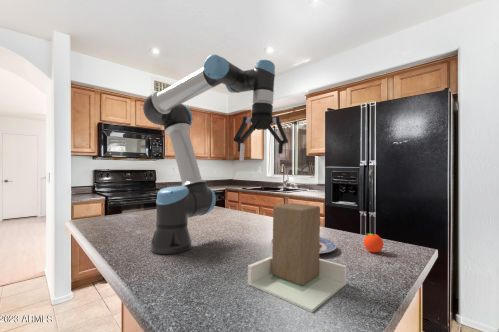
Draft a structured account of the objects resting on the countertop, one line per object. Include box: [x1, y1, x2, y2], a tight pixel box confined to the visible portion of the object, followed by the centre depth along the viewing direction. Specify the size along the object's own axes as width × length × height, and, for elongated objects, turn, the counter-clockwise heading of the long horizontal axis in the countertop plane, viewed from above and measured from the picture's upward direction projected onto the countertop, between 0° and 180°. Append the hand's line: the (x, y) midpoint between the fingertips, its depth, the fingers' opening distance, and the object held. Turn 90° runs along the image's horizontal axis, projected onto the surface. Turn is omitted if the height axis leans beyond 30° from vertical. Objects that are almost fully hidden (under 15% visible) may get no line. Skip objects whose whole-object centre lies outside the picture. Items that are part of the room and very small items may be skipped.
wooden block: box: [271, 202, 321, 286], centre depth 72 cm, size 10×10×20 cm
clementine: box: [361, 233, 384, 254], centre depth 98 cm, size 8×7×7 cm
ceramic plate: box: [270, 236, 338, 255], centre depth 101 cm, size 26×26×3 cm
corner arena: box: [247, 255, 347, 313], centre depth 68 cm, size 19×19×5 cm
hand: (259, 162), depth 92 cm, fingers open, 13 cm apart
